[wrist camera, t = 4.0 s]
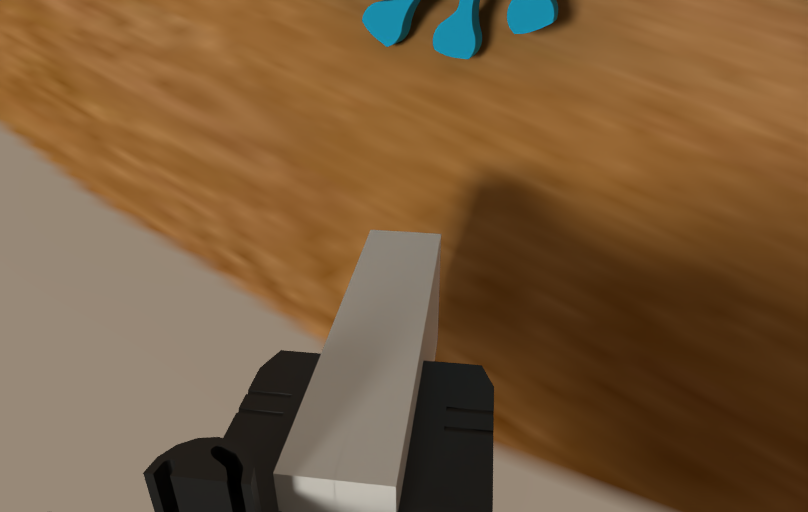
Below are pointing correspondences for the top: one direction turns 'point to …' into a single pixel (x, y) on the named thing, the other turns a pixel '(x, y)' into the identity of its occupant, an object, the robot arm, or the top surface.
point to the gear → (455, 23)
